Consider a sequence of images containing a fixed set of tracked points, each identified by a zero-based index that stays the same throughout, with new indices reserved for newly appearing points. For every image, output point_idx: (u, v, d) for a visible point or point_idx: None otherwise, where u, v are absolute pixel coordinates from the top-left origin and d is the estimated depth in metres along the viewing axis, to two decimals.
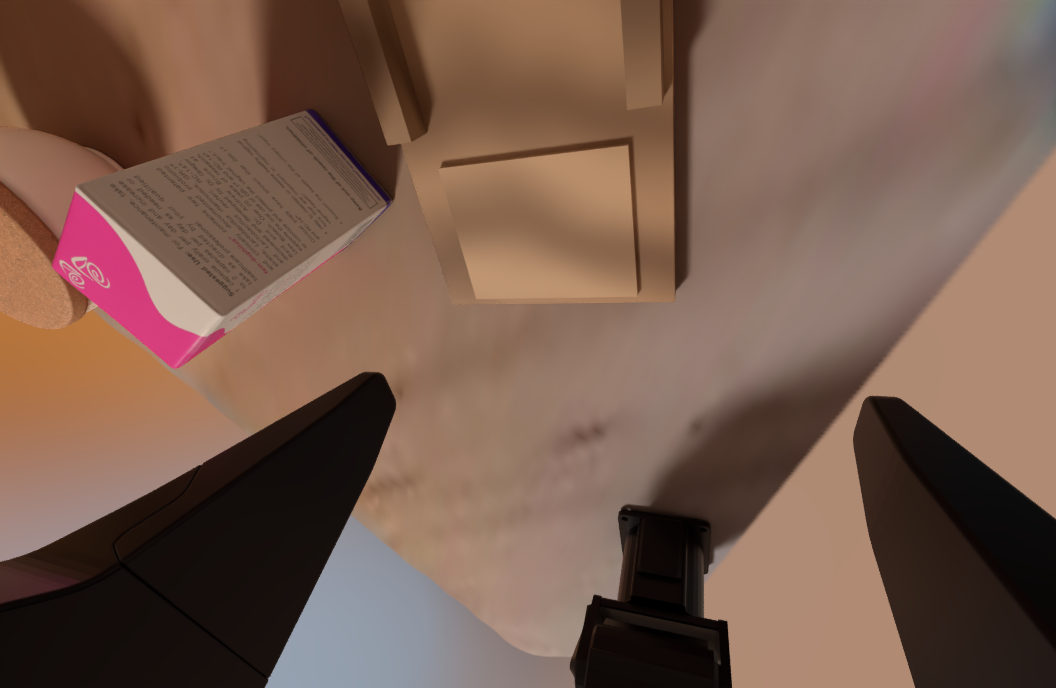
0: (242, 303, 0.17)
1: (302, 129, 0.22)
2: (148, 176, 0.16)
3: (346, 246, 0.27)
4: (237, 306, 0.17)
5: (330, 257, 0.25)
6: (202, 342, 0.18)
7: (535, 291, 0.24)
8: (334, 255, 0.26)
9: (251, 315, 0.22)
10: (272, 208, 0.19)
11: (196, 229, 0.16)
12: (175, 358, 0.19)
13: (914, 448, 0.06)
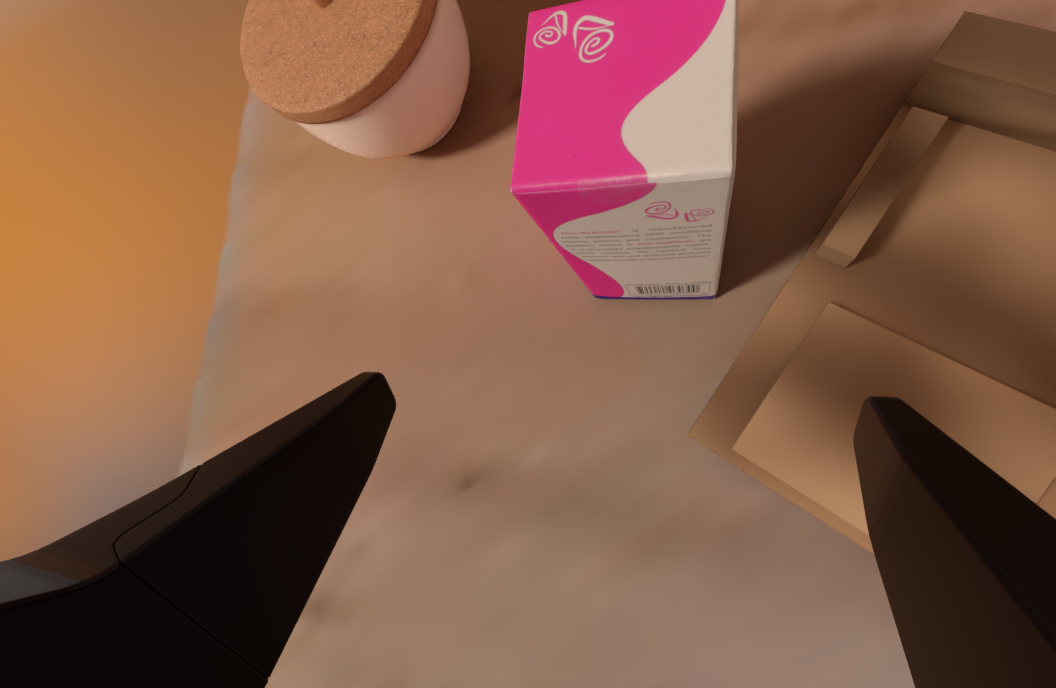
0: (728, 191, 0.12)
1: None
2: None
3: (618, 296, 0.22)
4: (729, 186, 0.11)
5: (619, 286, 0.20)
6: (622, 185, 0.12)
7: (823, 494, 0.18)
8: (604, 292, 0.22)
9: (562, 245, 0.16)
10: None
11: None
12: (544, 177, 0.12)
13: (914, 448, 0.06)
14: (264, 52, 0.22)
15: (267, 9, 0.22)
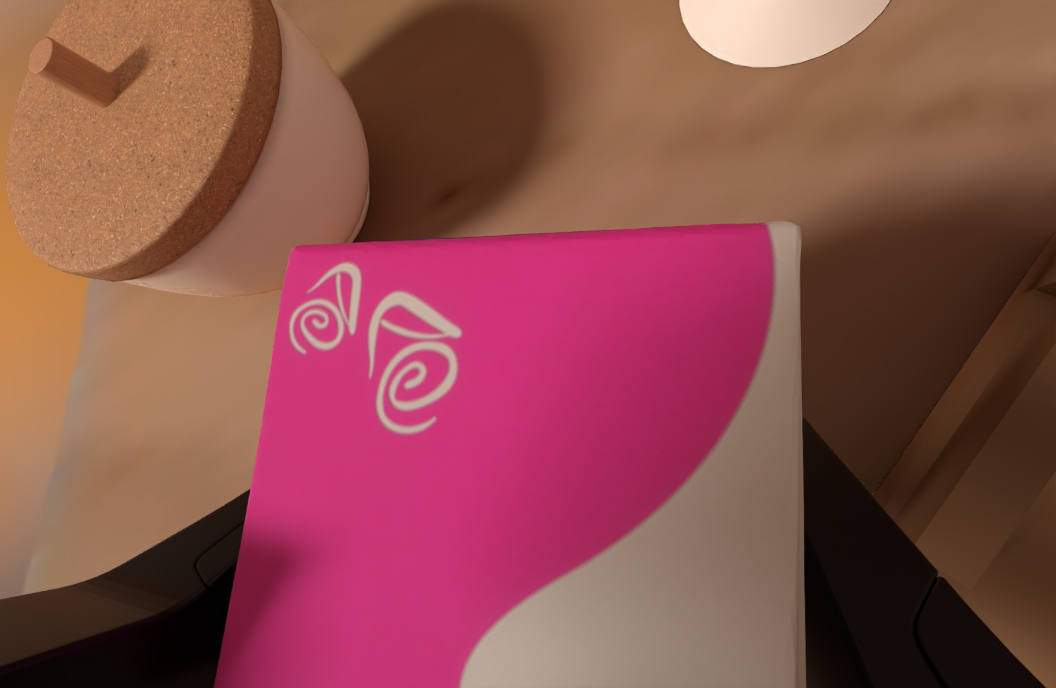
0: None
1: None
2: None
3: None
4: None
5: None
6: None
7: None
8: None
9: None
10: None
11: None
12: None
13: None
14: (29, 167, 0.14)
15: (39, 99, 0.15)
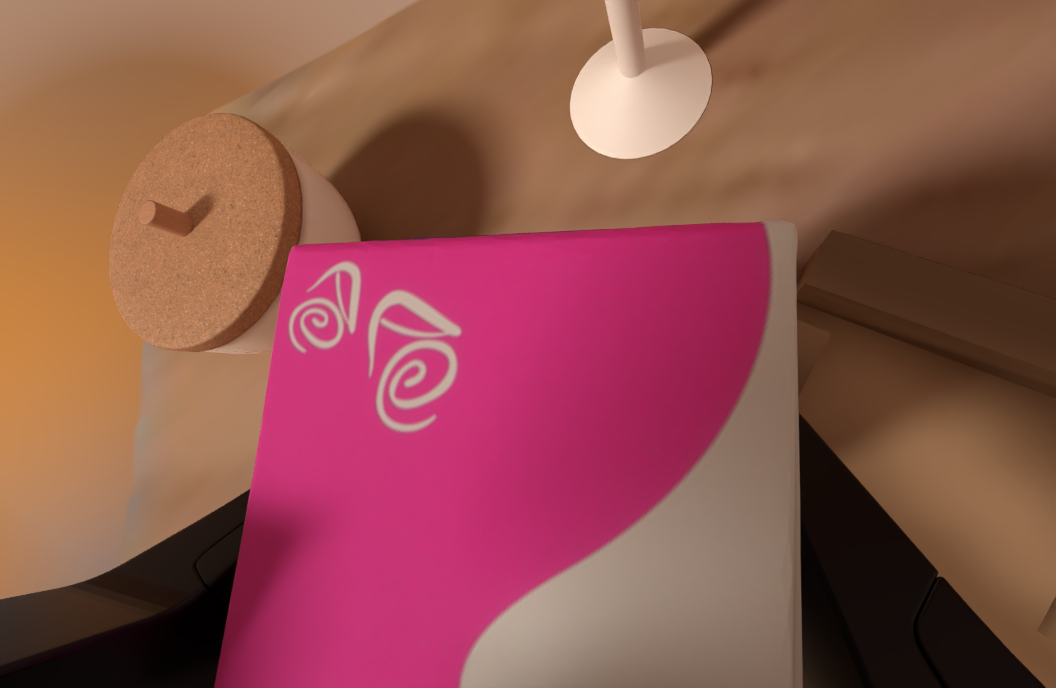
0: None
1: None
2: None
3: None
4: None
5: None
6: None
7: None
8: None
9: None
10: None
11: None
12: None
13: None
14: (130, 279, 0.21)
15: (132, 231, 0.21)
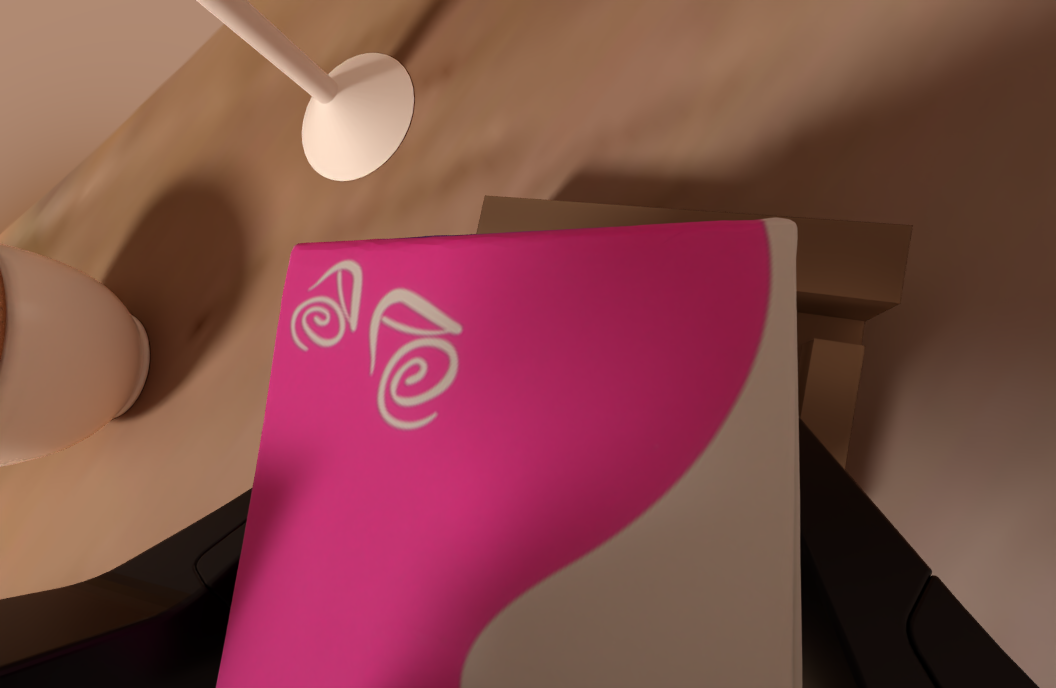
0: None
1: None
2: None
3: None
4: None
5: None
6: None
7: None
8: None
9: None
10: None
11: None
12: None
13: None
14: None
15: None
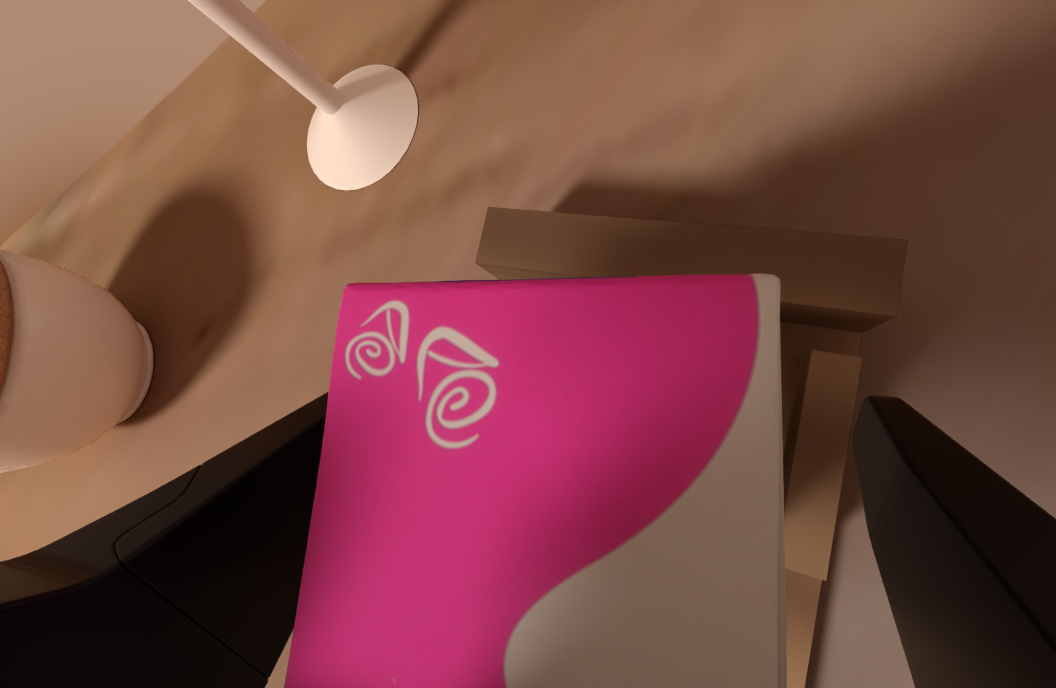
0: None
1: None
2: None
3: None
4: None
5: None
6: None
7: None
8: None
9: None
10: None
11: None
12: None
13: (914, 448, 0.06)
14: None
15: None
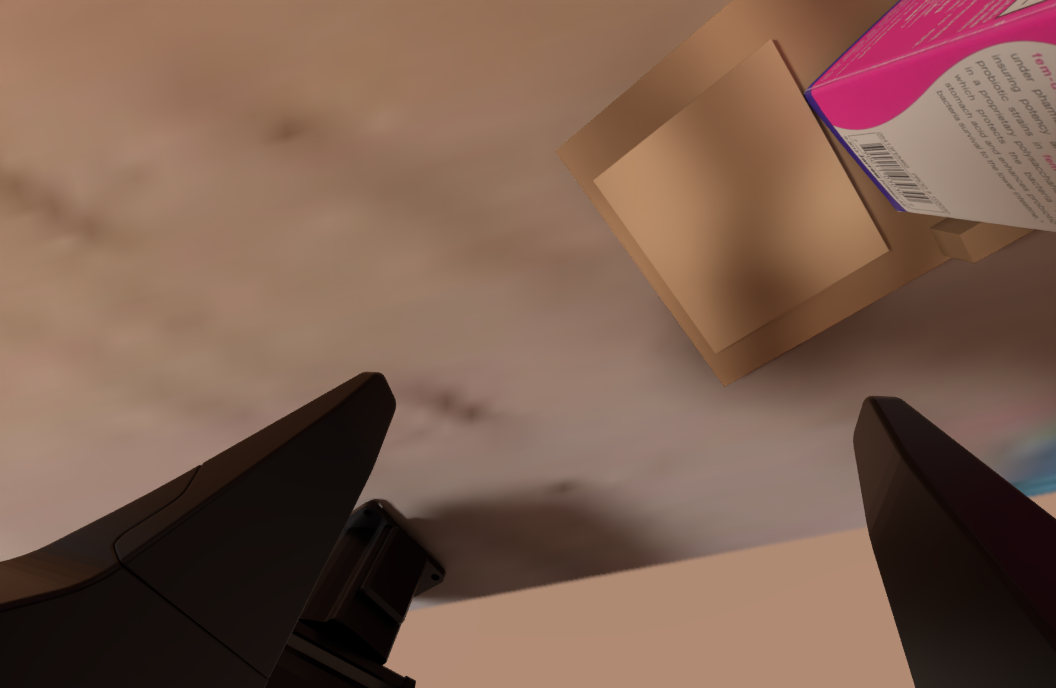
0: None
1: None
2: None
3: (830, 122, 0.15)
4: None
5: (866, 125, 0.14)
6: None
7: (654, 248, 0.18)
8: (831, 107, 0.15)
9: (979, 55, 0.09)
10: None
11: None
12: None
13: (914, 448, 0.06)
14: None
15: None
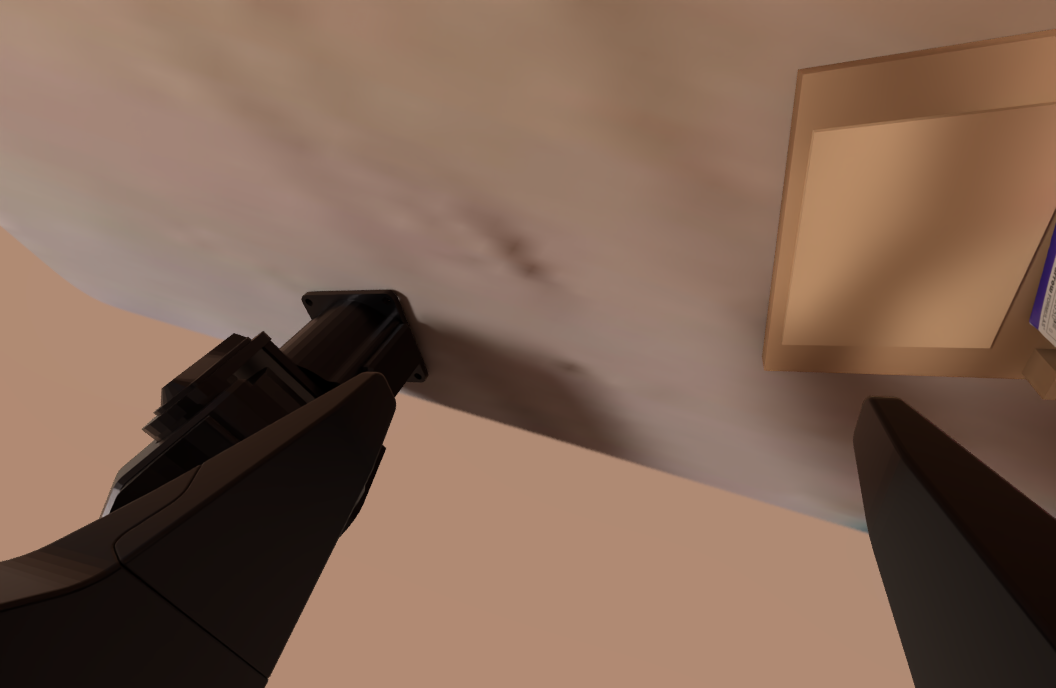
0: None
1: None
2: None
3: None
4: None
5: None
6: None
7: (811, 232, 0.17)
8: None
9: None
10: None
11: None
12: None
13: (914, 448, 0.06)
14: None
15: None
